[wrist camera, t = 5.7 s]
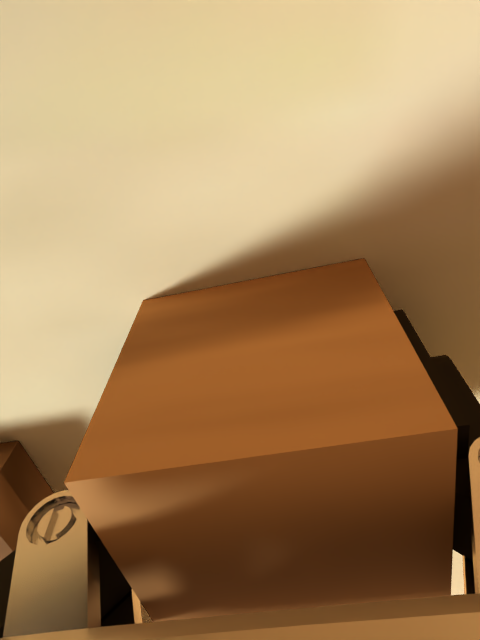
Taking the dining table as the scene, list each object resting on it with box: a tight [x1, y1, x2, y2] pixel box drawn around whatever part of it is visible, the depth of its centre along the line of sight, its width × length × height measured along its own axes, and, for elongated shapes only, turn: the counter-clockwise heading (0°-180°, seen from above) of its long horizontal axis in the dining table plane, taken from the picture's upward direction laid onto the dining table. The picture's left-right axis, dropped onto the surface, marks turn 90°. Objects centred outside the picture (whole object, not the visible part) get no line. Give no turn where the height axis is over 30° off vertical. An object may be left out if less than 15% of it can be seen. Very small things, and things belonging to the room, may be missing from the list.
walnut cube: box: [64, 258, 458, 622], centre depth 10 cm, size 6×6×6 cm
